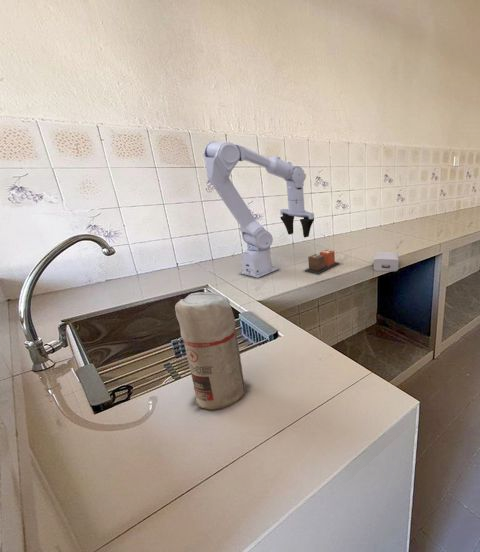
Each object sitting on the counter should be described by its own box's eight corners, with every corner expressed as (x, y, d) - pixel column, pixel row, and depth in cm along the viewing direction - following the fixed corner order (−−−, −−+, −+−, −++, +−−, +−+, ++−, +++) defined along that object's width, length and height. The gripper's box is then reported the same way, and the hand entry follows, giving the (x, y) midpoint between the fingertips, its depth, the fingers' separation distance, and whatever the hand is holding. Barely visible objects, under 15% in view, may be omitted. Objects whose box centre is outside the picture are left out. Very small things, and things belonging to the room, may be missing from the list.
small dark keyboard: (318, 274, 119) (318, 273, 119) (305, 271, 122) (304, 270, 122) (339, 264, 130) (339, 263, 130) (326, 261, 133) (326, 260, 133)
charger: (397, 258, 139) (398, 271, 125) (375, 258, 139) (373, 270, 125) (397, 248, 137) (398, 259, 123) (375, 247, 137) (373, 258, 123)
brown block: (317, 271, 121) (317, 258, 119) (309, 269, 122) (308, 256, 120) (324, 268, 124) (324, 255, 122) (315, 266, 125) (315, 253, 124)
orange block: (328, 266, 126) (328, 253, 124) (320, 264, 128) (319, 252, 126) (335, 263, 130) (335, 250, 128) (327, 261, 131) (326, 249, 130)
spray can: (189, 393, 61) (166, 294, 54) (236, 374, 67) (220, 282, 60) (204, 419, 56) (180, 313, 49) (253, 396, 61) (238, 298, 54)
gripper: (318, 200, 124) (320, 235, 129) (288, 196, 129) (291, 230, 134) (306, 202, 118) (308, 239, 123) (274, 198, 123) (278, 234, 128)
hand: (298, 235), depth 128 cm, fingers open, 7 cm apart
